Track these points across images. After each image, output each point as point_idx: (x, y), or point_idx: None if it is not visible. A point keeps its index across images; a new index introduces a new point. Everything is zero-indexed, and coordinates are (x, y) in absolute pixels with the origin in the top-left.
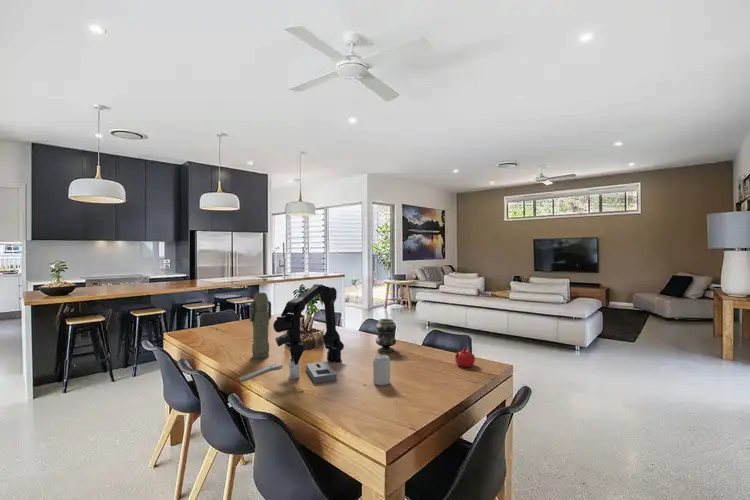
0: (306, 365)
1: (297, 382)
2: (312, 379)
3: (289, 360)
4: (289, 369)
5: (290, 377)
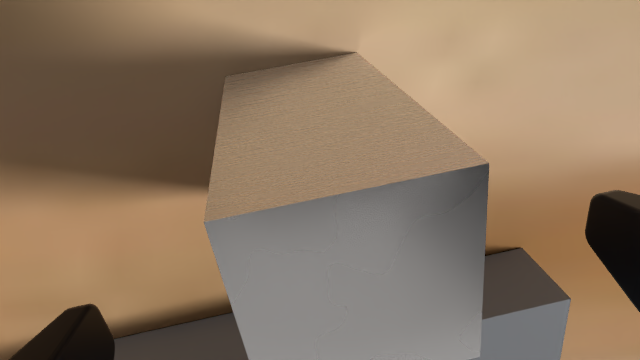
0: (535, 295)
1: (65, 180)
2: (138, 341)
3: (421, 163)
4: (358, 86)
5: (228, 81)
